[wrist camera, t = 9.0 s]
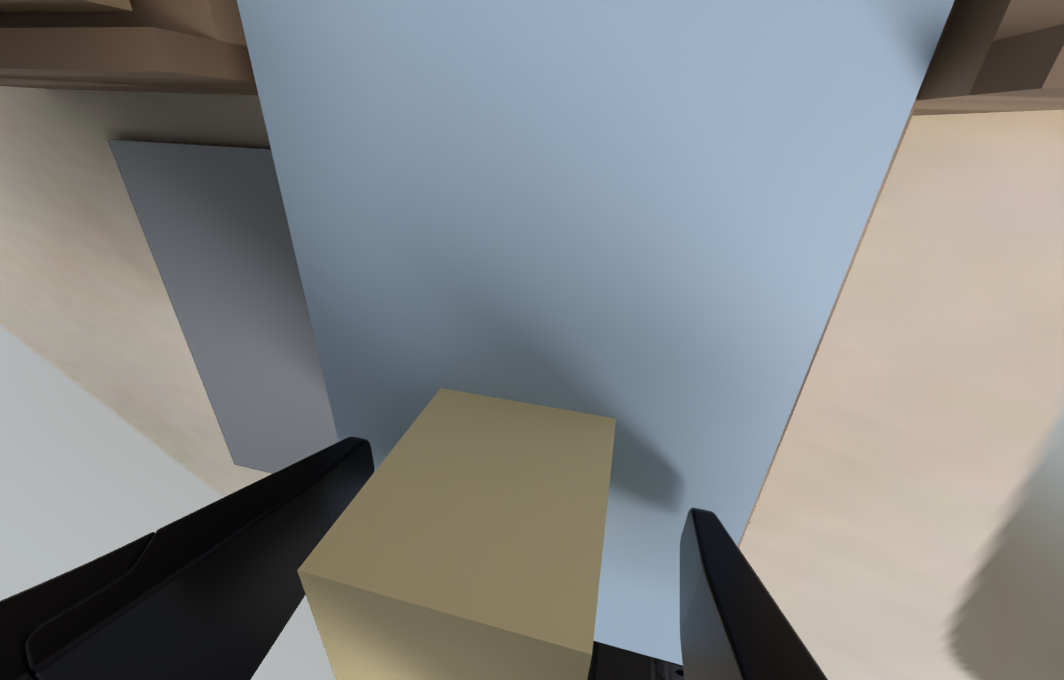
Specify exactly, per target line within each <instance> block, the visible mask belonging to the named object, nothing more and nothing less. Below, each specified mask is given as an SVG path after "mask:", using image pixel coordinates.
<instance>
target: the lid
mask: <svg viewBox="0 0 1064 680" xmlns="http://www.w3.org/2000/svg"><path fill="white" fill-rule="evenodd" d="M954 1H955V0H237V4H238V8H239V12H240V17H241V21H242V25H243V30H244V34H245V38H246V43H247V47H248V51H249V56H250V60H251V64H252V69H253V73H254V77H255V82H256V86H257V90H258V95H259V99H260V103H261V108H262V112H263V116H264V121H265V125H266V130H267V134H268V138H269V143H270V147H271V151H272V156H273V160H274V164H275V169H276V173H277V177H278V182H279V186H280V190H281V195H282V199H283V203H284V208H285V212H286V216H287V221H288V225H289V229H290V234H291V238H292V242H293V247H294V251H295V255H296V260H297V264H298V268H299V273H300V277H301V281H302V286H303V290H304V294H305V299H306V303H307V307H308V312H309V316H310V321H311V325H312V329H313V334H314V338H315V342H316V347H317V351H318V355H319V360H320V364H321V368H322V373H323V377H324V381H325V386H326V390H327V394H328V399H329V403H330V407H331V412H332V416H333V420H334V425H335V429H336V433H337V438H338V442H339V441H341V440H343V439H345V438H348V437H358V438H363V439H367V440H368V441H369V442H370V444H371V449H372V455H373V460H374V466H375V471H374V473H373V475H372V476H371V477H370V478H369V480H368V481H367V482H366V484H365V485H364V486H363V487H362V489H361V490H360V491H359V492H358V494H357V495H356V496H355V498H354V499H353V500H352V501H351V503H350V504H349V505H348V506H347V508H346V509H345V510H344V512H343V513H342V514H341V515H340V517H339V518H338V519H337V520H336V522H335V523H334V524H333V526H332V527H331V528H330V529H329V531H328V532H327V533H326V535H325V536H324V537H323V538H322V540H321V541H320V542H319V543H318V545H317V546H316V547H315V549H314V550H313V551H312V552H311V554H310V555H309V556H308V557H307V559H306V560H305V561H304V563H303V564H302V565H301V566H300V568H299V569H298V570H297V571H298V574H299V577H300V580H301V582H302V585H303V588H304V591H305V594H306V597H307V599H308V602H309V605H310V608H311V611H312V613H313V616H314V619H315V622H316V625H317V627H318V630H319V633H320V636H321V639H322V642H323V645H324V647H325V650H326V653H327V656H328V659H329V662H330V664H331V667H332V670H333V673H334V675H335V678H336V680H587V679H588V673H589V668H590V663H591V657H592V650H593V641H597V642H600V643H604V644H608V645H611V646H615V647H618V648H622V649H626V650H629V651H633V652H636V653H640V654H643V655H647V656H651V657H654V658H658V659H661V660H665V661H669V662H672V663H676V664H679V665H683V662H682V653H681V641H680V539H681V535H682V531H683V528H684V525H685V521H686V518H687V515H688V512H689V510H690V509H691V508H699V509H704V510H709V511H712V512H714V513H715V514H716V516H717V517H718V518H719V520H720V521H721V523H722V524H723V526H724V527H725V529H726V530H727V532H728V533H729V535H730V536H731V538H732V539H733V540H734V542H735V543H736V545H737V546H738V544H739V541H740V539H741V536H742V534H743V531H744V528H745V526H746V523H747V521H748V518H749V516H750V513H751V511H752V508H753V506H754V503H755V501H756V498H757V496H758V493H759V491H760V488H761V486H762V483H763V481H764V478H765V476H766V473H767V471H768V468H769V466H770V463H771V461H772V458H773V456H774V453H775V451H776V448H777V446H778V443H779V441H780V438H781V435H782V433H783V430H784V428H785V425H786V423H787V420H788V418H789V415H790V413H791V410H792V408H793V405H794V403H795V400H796V398H797V395H798V393H799V390H800V388H801V385H802V383H803V380H804V378H805V375H806V373H807V370H808V368H809V365H810V363H811V360H812V358H813V355H814V353H815V350H816V348H817V345H818V343H819V340H820V337H821V335H822V332H823V330H824V327H825V325H826V322H827V320H828V317H829V315H830V312H831V310H832V307H833V305H834V302H835V300H836V297H837V295H838V292H839V290H840V287H841V285H842V282H843V280H844V277H845V275H846V272H847V270H848V267H849V265H850V262H851V260H852V257H853V255H854V252H855V250H856V247H857V245H858V242H859V239H860V237H861V234H862V232H863V229H864V227H865V224H866V222H867V219H868V217H869V214H870V212H871V209H872V207H873V204H874V202H875V199H876V197H877V194H878V192H879V189H880V187H881V184H882V182H883V179H884V177H885V174H886V172H887V169H888V167H889V164H890V162H891V159H892V157H893V154H894V152H895V149H896V147H897V144H898V141H899V139H900V136H901V134H902V131H903V129H904V126H905V124H906V121H907V119H908V116H909V114H910V111H911V109H912V106H913V104H914V101H915V99H916V96H917V94H918V91H919V89H920V86H921V84H922V81H923V79H924V76H925V74H926V71H927V69H928V66H929V64H930V61H931V59H932V56H933V54H934V51H935V49H936V46H937V43H938V41H939V38H940V36H941V33H942V31H943V28H944V26H945V23H946V21H947V18H948V16H949V13H950V11H951V8H952V6H953V3H954Z"/></svg>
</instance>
